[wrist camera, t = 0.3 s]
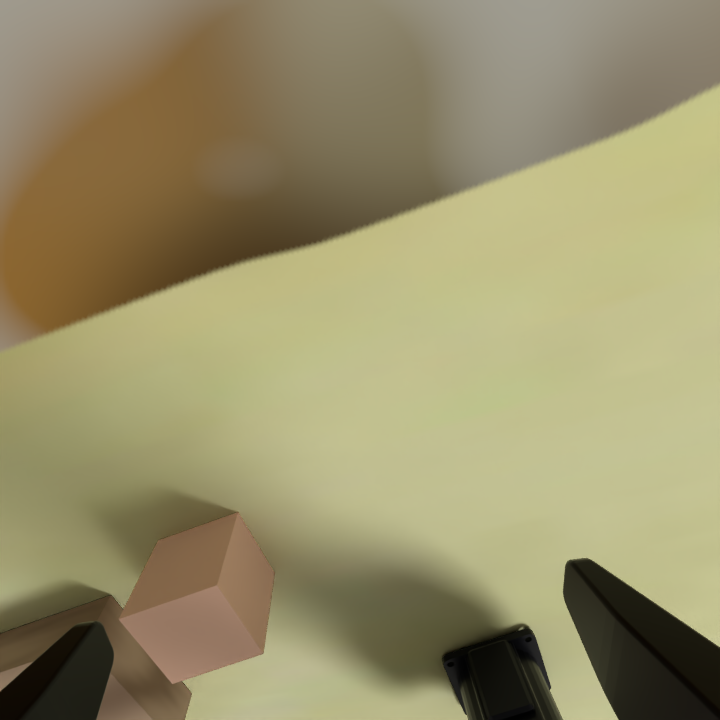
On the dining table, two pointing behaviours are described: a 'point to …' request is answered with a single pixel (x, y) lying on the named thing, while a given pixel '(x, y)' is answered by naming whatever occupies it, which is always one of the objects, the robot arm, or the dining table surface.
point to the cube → (202, 599)
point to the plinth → (129, 671)
